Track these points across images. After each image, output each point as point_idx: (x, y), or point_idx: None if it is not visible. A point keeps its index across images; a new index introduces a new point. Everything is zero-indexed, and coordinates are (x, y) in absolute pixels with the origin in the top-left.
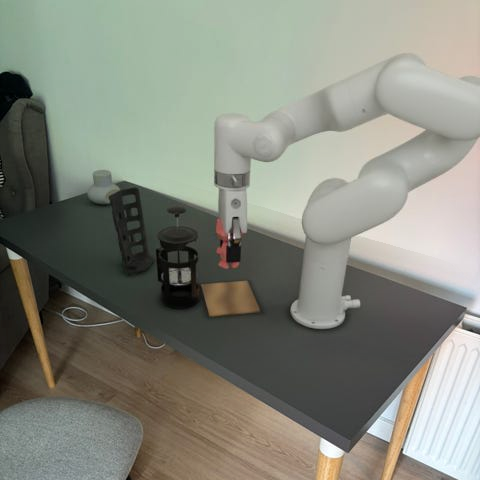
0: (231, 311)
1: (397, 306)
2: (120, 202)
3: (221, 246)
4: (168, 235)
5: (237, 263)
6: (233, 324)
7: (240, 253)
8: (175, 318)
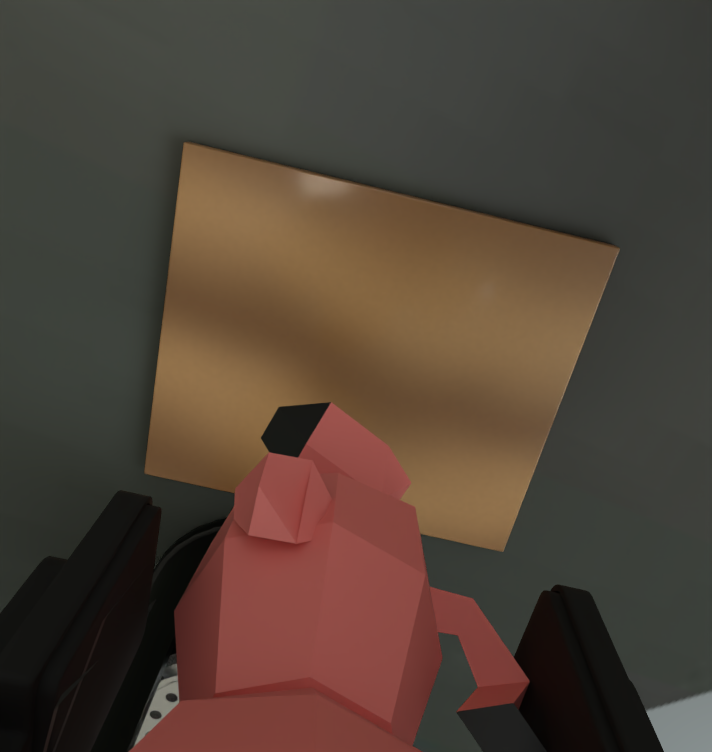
0: (532, 429)
1: None
2: None
3: (137, 645)
4: None
5: (361, 447)
6: (643, 458)
7: (628, 684)
8: (434, 682)
